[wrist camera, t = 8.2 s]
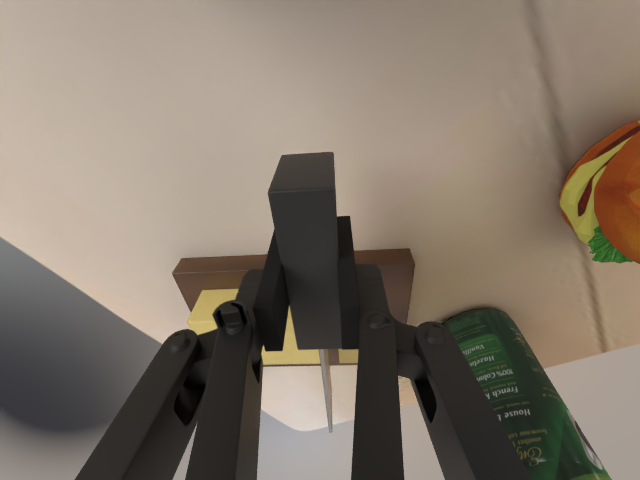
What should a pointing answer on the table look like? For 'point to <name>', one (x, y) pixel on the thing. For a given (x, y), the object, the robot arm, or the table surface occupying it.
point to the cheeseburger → (607, 196)
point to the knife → (309, 252)
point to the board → (231, 269)
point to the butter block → (205, 322)
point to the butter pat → (348, 356)
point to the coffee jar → (524, 398)
